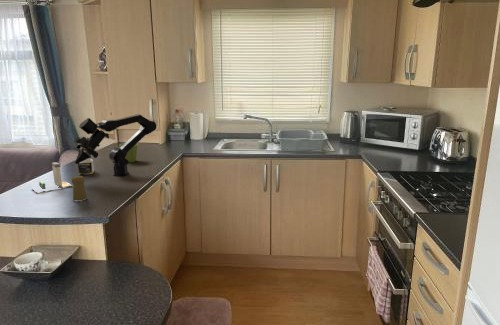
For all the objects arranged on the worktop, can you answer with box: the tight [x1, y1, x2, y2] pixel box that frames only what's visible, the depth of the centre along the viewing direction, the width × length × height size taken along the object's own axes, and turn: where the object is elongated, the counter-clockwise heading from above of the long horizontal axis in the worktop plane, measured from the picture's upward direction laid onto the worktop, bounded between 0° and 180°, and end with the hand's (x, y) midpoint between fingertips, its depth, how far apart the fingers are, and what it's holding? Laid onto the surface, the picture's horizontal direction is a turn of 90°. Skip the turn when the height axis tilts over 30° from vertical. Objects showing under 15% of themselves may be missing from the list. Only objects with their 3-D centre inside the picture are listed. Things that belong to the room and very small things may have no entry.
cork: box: [71, 175, 88, 201], centre depth 163 cm, size 6×6×11 cm
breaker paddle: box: [51, 161, 63, 186], centre depth 183 cm, size 2×5×11 cm, turn 43°
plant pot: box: [118, 142, 139, 163], centre depth 237 cm, size 12×12×11 cm
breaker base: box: [38, 180, 73, 189], centre depth 182 cm, size 16×10×4 cm, turn 133°
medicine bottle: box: [77, 157, 95, 176], centre depth 209 cm, size 7×7×12 cm
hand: (75, 163), depth 188 cm, fingers closed
